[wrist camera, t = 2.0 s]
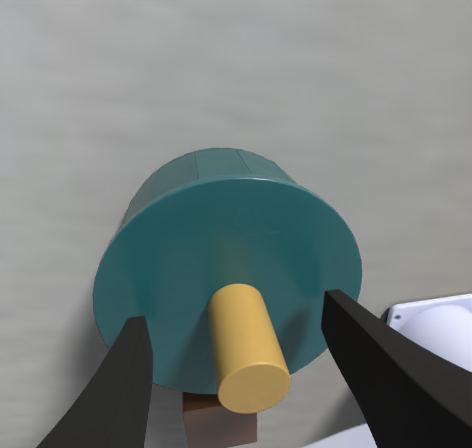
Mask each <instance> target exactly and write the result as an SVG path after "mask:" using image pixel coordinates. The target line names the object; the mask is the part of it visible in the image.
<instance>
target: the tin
mask: <svg viewBox="0 0 472 448" xmlns="http://www.w3.org/2000/svg"><path fill="white" fill-rule="evenodd" d="M225 174H256V175H265V176H271V177H275V178H279V179H283V180H287V181H289V182H292V183H294V184H297V183H296V182H295V181H294V180H293V179H292V178H290V177H289V176H288V175H287V174H286V173H285V172H284V171H283V170H282V169H281V168H280V167H279V166H278V165H277V164H276V163H274V162H272V161H271V160H268V159H266V158H264V157H262V156H259V155H257V154H254V153H252V152H248V151H244V150H240V149H232V148H211V149H204V150H199V151H195V152H191V153H188V154H185V155H183V156H180V157H178V158H176V159H174V160H172V161H170V162H169V163H167V164H165V165H164V166H162V167H161V168H160V169H158V170H157V171H156V172H154V173H153V174H152V175H151V176H150V177H149V178H148V179H147V180H146V181H145V182H144V184H143V185H142V186H141V188H140V189H139V191H138V192H137V193H136V195H135V196H134V198H133V199H132V200H131V202H130V204H129V207H128V210H127V213H126V216H125V219H124V222H123V224H124V223H125V222H126V221H127V220H128V219H129V218H130V217H131V216H132V215H133V214H134V213H135V212H137V211H138V210H139V209H141V208H142V207H143V206H144V205H146V204H147V203H148V202H150V201H151V200H153V199H155V198H156V197H158V196H160V195H162V194H163V193H165V192H167V191H169V190H171V189H174V188H176V187H178V186H181V185H183V184H185V183H188V182H192V181H195V180H199V179H203V178H206V177H212V176H219V175H225ZM297 185H298V184H297Z"/></svg>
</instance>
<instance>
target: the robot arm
mask: <svg viewBox="0 0 472 448" xmlns="http://www.w3.org/2000/svg"><path fill="white" fill-rule="evenodd" d="M321 330H322V333H323V336H324V338H325V341H326V343H327V346H328V348H329V351H330V353H331V355H332V357H333V358H334V360H335V362H336V364H337V366H338V368H339V370H340V371H341V373H342V375H343V377H344V379H345V381H346V382H347V384H348V386H349V388H350V390H351V392H352V393H353V395H354V397H355V399H356V401H357V403H358V405H359V407H360V409H361V411H362V413H363V415H364V417H365V419H366V422H367V424H368V426H369V429H370V431H371V433H372V436H373V438H374V440H375V443H376V445H377V448H472V294H465V295H458V296H451V297H444V298H437V299H430V300H423V301H417V302H410V303H403V304H396V305H394V306H392V307H391V308H390V310H389V314H388V318H387V322H386V323H384V322H383V321H382V320H380V319H379V318H377V317H376V316H375V315H373V314H372V313H370V312H369V311H368V310H366V309H365V308H364V307H362V306H361V305H360V304H358V303H357V302H356V301H355V300H353V299H352V298H351V297H349V296H348V295H347V294H345V293H344V292H343V291H341V290H340V289H334V290H327V291H325V294H324V302H323V311H322V320H321ZM152 381H153V350H152V345H151V340H150V336H149V331H148V327H147V322H146V318H145V316H137V317H130V318H128V319H127V320H126V322H125V324H124V326H123V328H122V330H121V331H120V333H119V335H118V337H117V339H116V341H115V342H114V344H113V346H112V348H111V349H110V351H109V352H108V354H107V356H106V357H105V359H104V361H103V362H102V364H101V366H100V367H99V369H98V370H97V372H96V373H95V374H94V376H93V377H92V379H91V380H90V382H89V383H88V385H87V386H86V388H85V389H84V390H83V392H82V393H81V395H80V396H79V397H78V399H77V400H76V401H75V402H74V404H73V405H72V406H71V408H70V409H69V410H68V411H67V413H66V414H65V415H64V416H63V417H62V419H61V420H60V421H59V422H58V423H57V424H56V426H55V427H54V428H53V429H52V430H51V431H50V433H49V434H48V435H47V436H46V437H45V438H44V439H43V441H42V442H41V443H40V444H39V445H38V446H37V447H36V448H144V440H145V433H146V426H147V418H148V411H149V404H150V397H151V389H152Z"/></svg>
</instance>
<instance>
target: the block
mask: <svg viewBox="0 0 472 448" xmlns="http://www.w3.org/2000/svg"><path fill="white" fill-rule="evenodd" d="M182 402H183V417H184V423H185V428H186V434H187V439H188V445H189V448H228V447H233V446H238V445H243V444H249V443H254V442H257V412H256V413H237V412H233V411H230V410H228V409H226V408H225V407H224V406H223V405H222V404H221V403H220V401H219V399H218V396H217V394H196V393H189V392H182Z"/></svg>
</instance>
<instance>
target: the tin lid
mask: <svg viewBox="0 0 472 448" xmlns="http://www.w3.org/2000/svg"><path fill="white" fill-rule="evenodd" d="M361 280H362V265H361V257H360V253H359V248H358V245H357V243H356V241H355V238H354V236H353V233H352V232H351V230H350V229H349V227H348V225H347V224H346V222H345V221H344V220H343V219H342V218H341V216H340V215H339V214H338V213H337V212H336V211H335V210H334V209H333V208H332V207H331V206H330V205H329V204H328V203H326V202H325V201H324V200H323V199H322V198H320V197H319V196H318V195H316V194H314V193H313V192H311V191H309V190H307V189H306V188H304V187H302V186H299V185H297V184H294V183H292V182H289V181H287V180H283V179H279V178H275V177H271V176H265V175H256V174H225V175H219V176H212V177H206V178H203V179H199V180H195V181H192V182H188V183H185V184H183V185H181V186H178V187H176V188H174V189H171V190H169V191H167V192H165V193H163V194H162V195H160V196H158V197H156V198H155V199H153V200H151V201H150V202H148V203H147V204H146V205H144V206H143V207H142V208H141V209H139V210H138V211H137V212H135V213H134V214H133V215H132V216H131V217H130V218H129V219H128V220H127V221H126V222H125V223H124V224H123V225H122V226H121V227H120V229H119V230H118V232H117V233H116V234H115V236H114V237H113V238H112V240H111V241H110V243H109V245H108V247H107V249H106V251H105V253H104V255H103V257H102V259H101V262H100V264H99V268H98V271H97V274H96V277H95V282H94V289H93V310H94V314H95V319H96V323H97V326H98V328H99V331H100V333H101V336H102V338H103V340H104V341H105V343H106V344H107V346H108V348H109V349H111V348H112V346H113V344H114V342H115V341H116V339H117V337H118V335H119V333H120V331H121V330H122V328H123V326H124V324H125V322H126V320H127V319H128V318H130V317H137V316H145V318H146V322H147V327H148V331H149V336H150V340H151V345H152V350H153V381H152V382H153V383H155V384H158V385H160V386H163V387H166V388H169V389H173V390H178V391H182V392H189V393H196V394H217V396H218V399H219V401H220V403H221V404H222V405H223V406H224V407H225V408H226V409H228V410H230V411H233V412H237V413H256V412H260V411H263V410H266V409H269V408H271V407H273V406H274V405H276V404H277V403H279V402H280V401H281V400H282V399H283V398H284V397H285V396H286V395H287V393H288V391H289V389H290V385H291V377H290V375H291V374H293V373H295V372H296V371H298V370H299V369H301V368H303V367H304V366H306V365H307V364H309V363H310V362H311V361H313V360H314V359H315V358H317V357H318V356H319V355H320V354H321V353H322V352H324V351H325V350H326V349H327V348H328V346H327V343H326V341H325V338H324V336H323V333H322V330H321V320H322V311H323V302H324V294H325V291H327V290H334V289H340V290H341V291H343V292H344V293H345V294H347V295H348V296H349V297H351V298H352V299H353V300H355V301H356V302H357V301H358V297H359V293H360V289H361Z"/></svg>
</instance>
